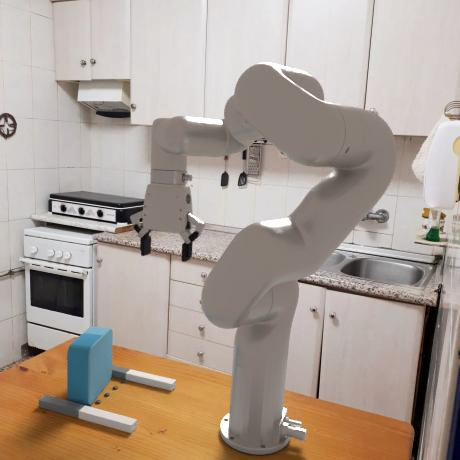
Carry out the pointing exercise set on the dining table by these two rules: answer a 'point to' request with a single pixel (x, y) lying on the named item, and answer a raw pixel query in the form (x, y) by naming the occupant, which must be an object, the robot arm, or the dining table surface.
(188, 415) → the dining table surface
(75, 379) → the blue rounded box
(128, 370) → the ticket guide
